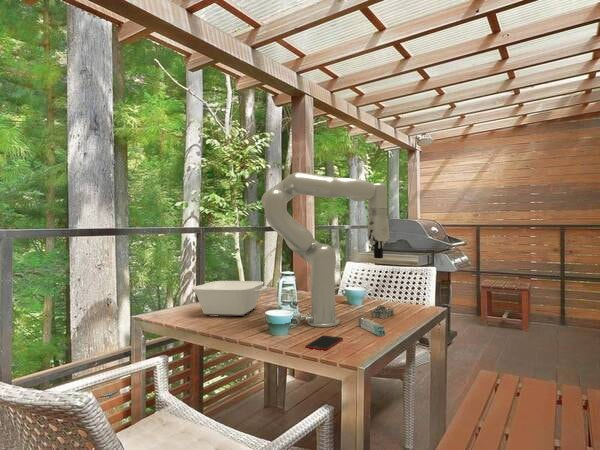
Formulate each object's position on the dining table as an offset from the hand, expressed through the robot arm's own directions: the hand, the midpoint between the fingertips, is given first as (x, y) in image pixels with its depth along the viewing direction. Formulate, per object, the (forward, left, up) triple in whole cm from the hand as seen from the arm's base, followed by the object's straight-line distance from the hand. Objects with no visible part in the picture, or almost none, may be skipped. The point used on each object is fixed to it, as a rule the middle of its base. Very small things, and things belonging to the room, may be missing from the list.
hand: (378, 258), depth 172 cm
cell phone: (-34, -24, -26) cm, 49 cm away
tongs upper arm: (-12, -16, -23) cm, 31 cm away
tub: (-55, +38, -26) cm, 71 cm away
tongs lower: (-12, -15, -25) cm, 32 cm away
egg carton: (+5, +5, -26) cm, 27 cm away
